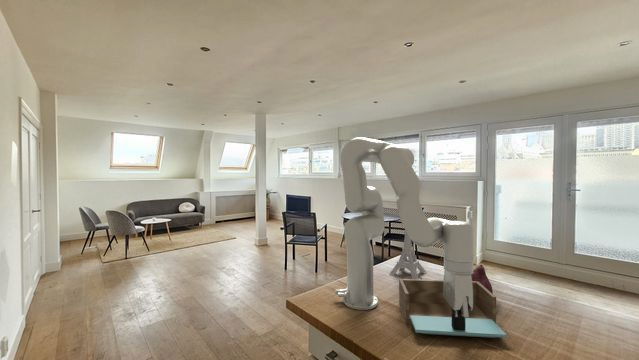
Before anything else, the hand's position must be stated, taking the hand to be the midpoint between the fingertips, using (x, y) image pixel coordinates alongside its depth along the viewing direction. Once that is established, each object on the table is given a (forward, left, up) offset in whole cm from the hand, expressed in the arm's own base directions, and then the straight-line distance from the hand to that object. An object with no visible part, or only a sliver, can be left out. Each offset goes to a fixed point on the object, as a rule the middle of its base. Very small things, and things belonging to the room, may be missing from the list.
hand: (458, 328), depth 78 cm
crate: (0, +12, -3) cm, 13 cm away
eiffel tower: (-4, +50, -3) cm, 51 cm away
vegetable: (+17, +27, -3) cm, 32 cm away
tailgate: (0, +6, -1) cm, 6 cm away
